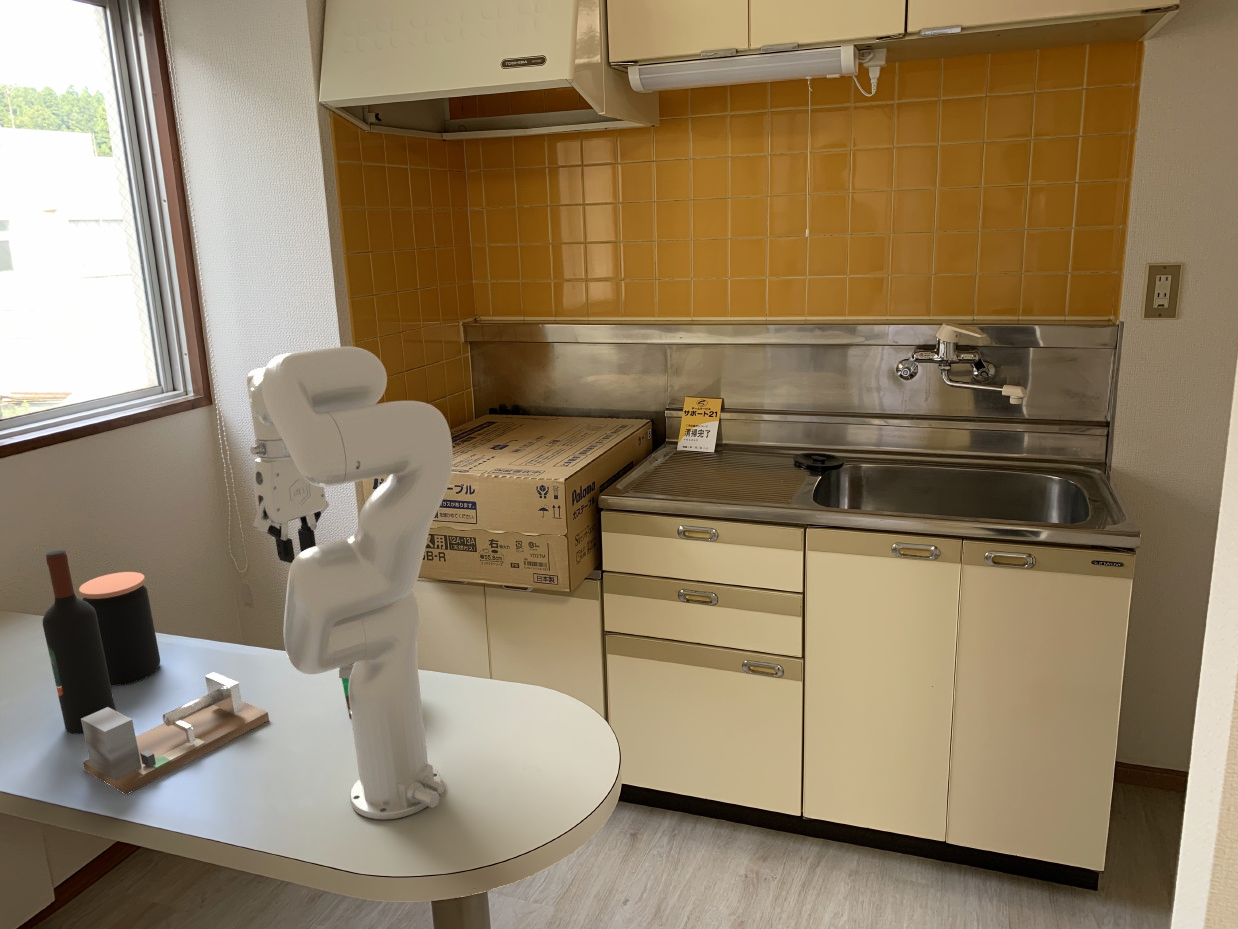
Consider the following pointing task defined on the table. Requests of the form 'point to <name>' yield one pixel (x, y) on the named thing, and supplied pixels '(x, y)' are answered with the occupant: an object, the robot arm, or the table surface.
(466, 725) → the table surface
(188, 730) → the plunger
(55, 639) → the wine bottle
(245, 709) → the gauge board
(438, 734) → the table surface
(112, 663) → the coffee jar
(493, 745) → the table surface
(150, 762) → the dark grey small block
